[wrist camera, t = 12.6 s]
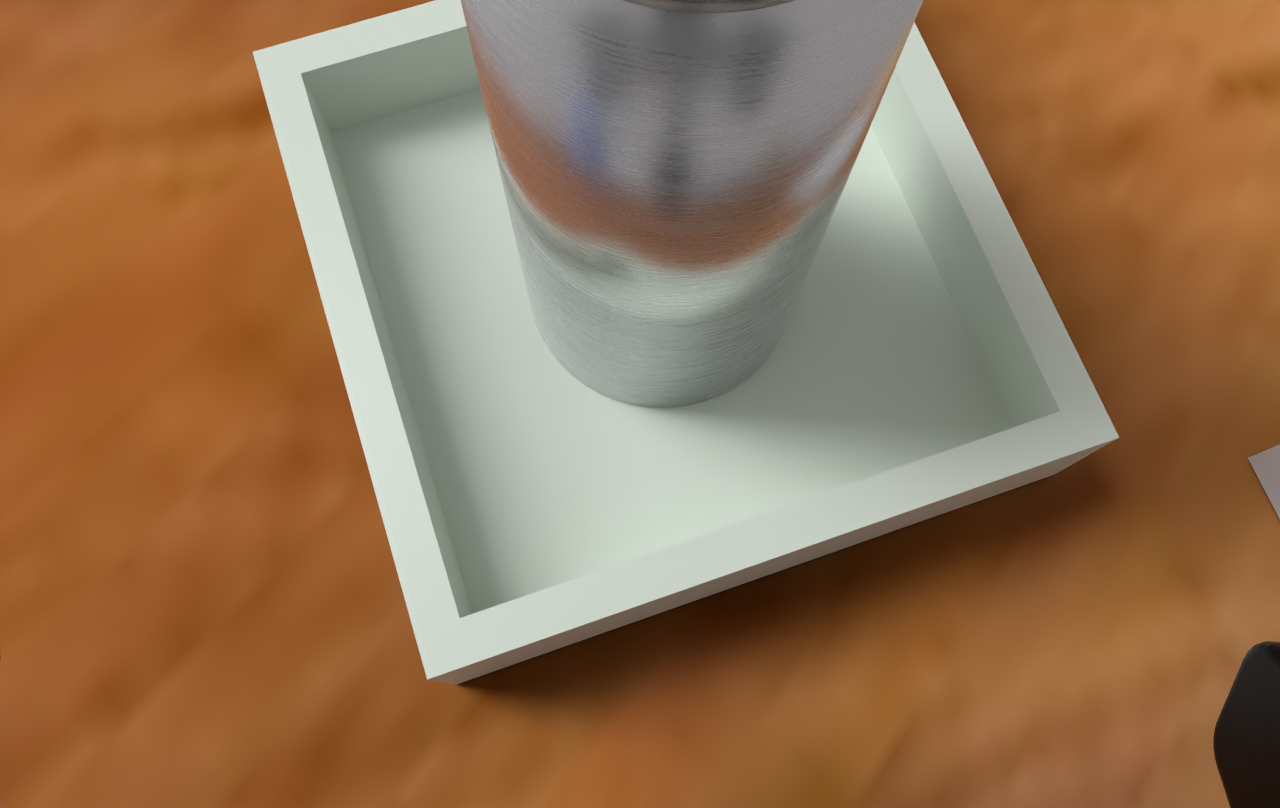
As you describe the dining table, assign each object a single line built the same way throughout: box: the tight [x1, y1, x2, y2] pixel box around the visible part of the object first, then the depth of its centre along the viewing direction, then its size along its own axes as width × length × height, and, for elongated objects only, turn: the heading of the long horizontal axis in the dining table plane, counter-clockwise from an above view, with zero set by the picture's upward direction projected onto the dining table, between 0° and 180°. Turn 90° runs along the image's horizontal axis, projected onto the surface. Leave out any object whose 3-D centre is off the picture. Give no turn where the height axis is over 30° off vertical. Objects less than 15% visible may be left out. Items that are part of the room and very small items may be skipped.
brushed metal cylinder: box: [461, 0, 923, 408], centre depth 16 cm, size 6×6×12 cm
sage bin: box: [253, 0, 1119, 685], centre depth 21 cm, size 13×13×3 cm
